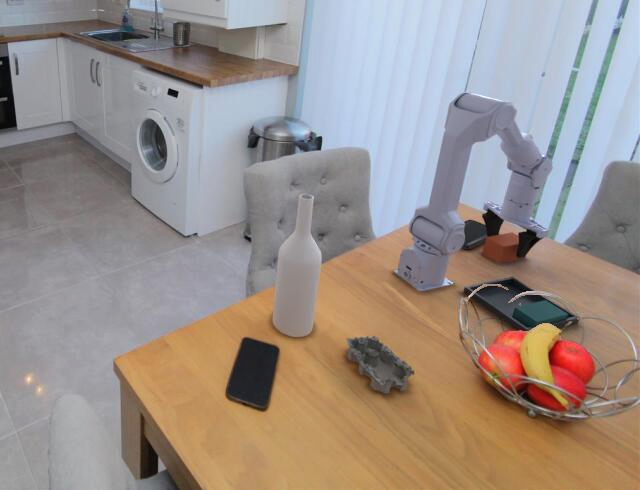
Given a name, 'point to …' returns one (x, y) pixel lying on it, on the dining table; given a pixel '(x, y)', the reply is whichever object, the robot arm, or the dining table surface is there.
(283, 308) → the bottle
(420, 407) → the dining table surface
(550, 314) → the teal pad
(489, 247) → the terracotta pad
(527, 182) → the robot arm
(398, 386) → the egg carton
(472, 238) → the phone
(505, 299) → the pad tray
